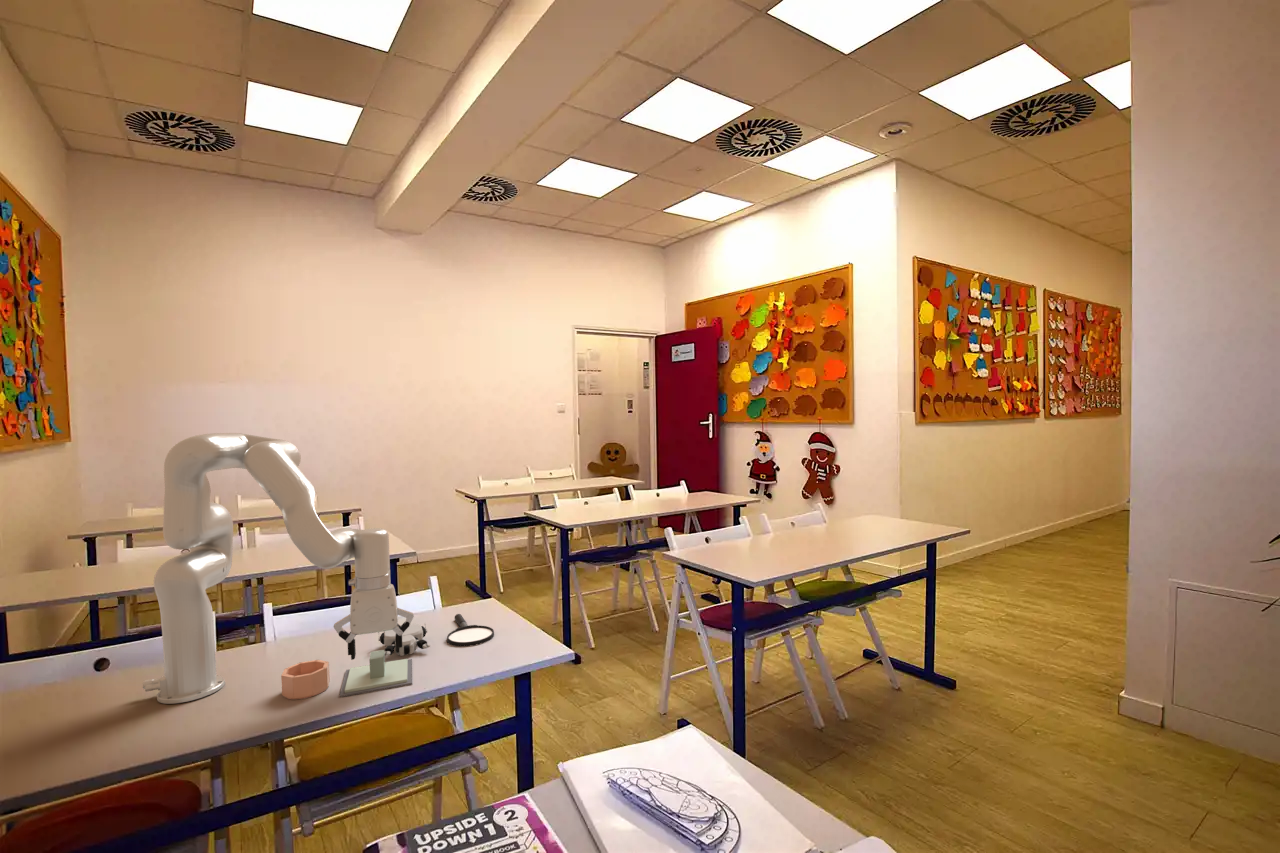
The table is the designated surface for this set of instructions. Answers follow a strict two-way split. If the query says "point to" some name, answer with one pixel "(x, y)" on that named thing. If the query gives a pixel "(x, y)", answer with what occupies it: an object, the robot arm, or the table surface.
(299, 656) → the table surface
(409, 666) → the mat
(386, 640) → the robot toy
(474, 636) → the magnifying glass
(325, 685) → the bowl
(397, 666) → the cover
